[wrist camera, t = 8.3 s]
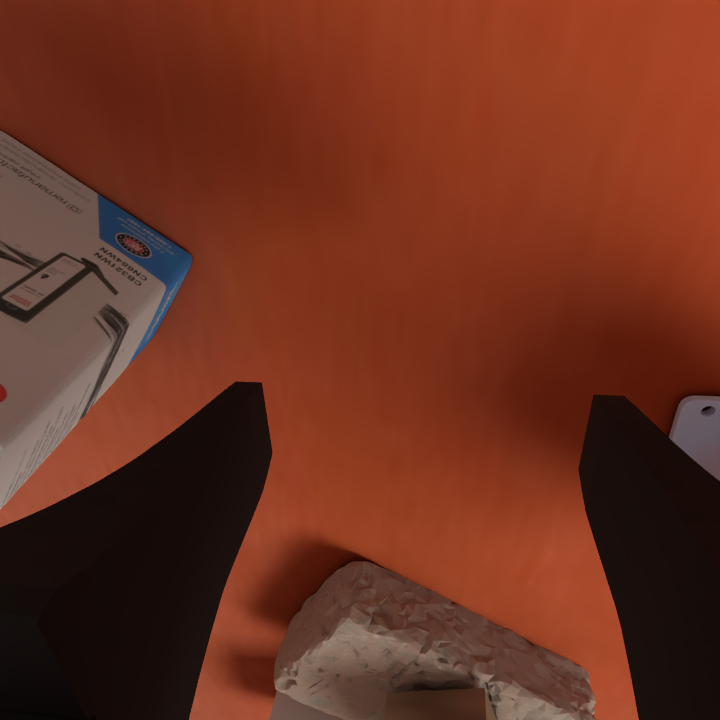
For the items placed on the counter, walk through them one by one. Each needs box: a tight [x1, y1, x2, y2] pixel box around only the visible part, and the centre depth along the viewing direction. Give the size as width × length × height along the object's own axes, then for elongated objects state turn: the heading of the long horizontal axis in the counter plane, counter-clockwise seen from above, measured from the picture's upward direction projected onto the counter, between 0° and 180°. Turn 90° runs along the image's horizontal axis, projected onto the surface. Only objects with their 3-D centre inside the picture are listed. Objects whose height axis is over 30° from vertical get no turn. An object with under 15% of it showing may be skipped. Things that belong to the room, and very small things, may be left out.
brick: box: [274, 561, 596, 720], centre depth 33 cm, size 16×8×5 cm, turn 59°
